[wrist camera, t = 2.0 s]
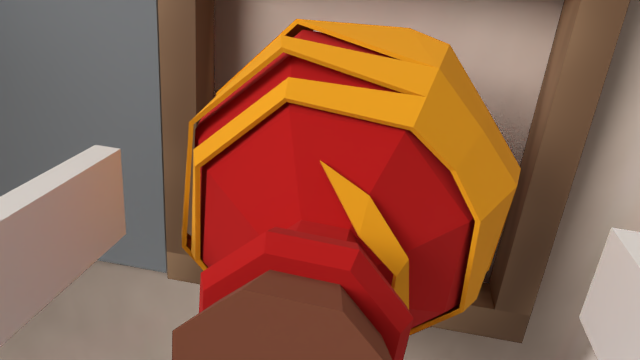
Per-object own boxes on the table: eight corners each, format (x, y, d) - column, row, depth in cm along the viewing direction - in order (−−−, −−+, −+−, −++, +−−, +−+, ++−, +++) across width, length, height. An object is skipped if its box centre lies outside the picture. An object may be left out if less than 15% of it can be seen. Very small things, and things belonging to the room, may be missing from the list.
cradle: (184, 256, 27) (167, 278, 25) (177, -108, 20) (153, -115, 18) (514, 315, 25) (521, 343, 23) (629, -69, 18) (652, -71, 16)
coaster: (-68, 223, 29) (-77, 228, 28) (-135, -53, 23) (-149, -53, 22) (171, 266, 27) (166, 272, 26) (162, -20, 21) (155, -20, 21)
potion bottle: (505, 214, 23) (635, 593, 9) (285, 247, 25) (132, 580, 12) (467, -36, 19) (587, -23, 6) (215, 33, 22) (-119, 155, 8)
